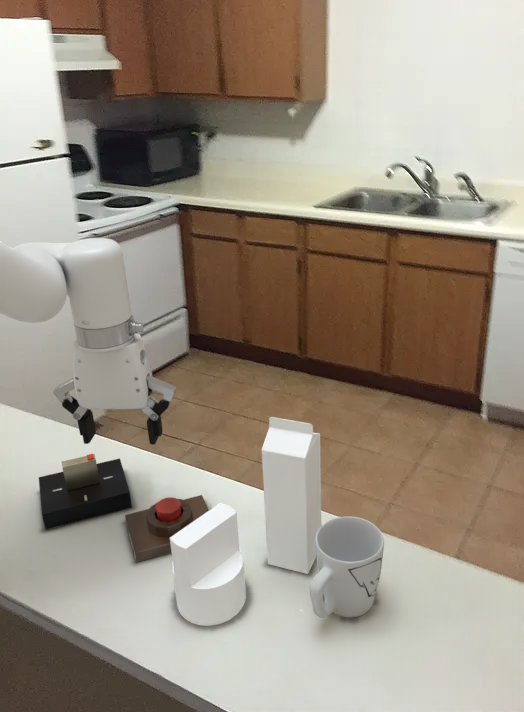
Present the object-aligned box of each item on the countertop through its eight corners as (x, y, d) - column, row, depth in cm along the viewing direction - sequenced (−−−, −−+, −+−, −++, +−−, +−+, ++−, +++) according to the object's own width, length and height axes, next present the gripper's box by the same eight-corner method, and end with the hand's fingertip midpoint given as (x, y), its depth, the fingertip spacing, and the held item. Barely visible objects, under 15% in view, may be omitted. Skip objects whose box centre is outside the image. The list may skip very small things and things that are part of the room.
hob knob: (67, 491, 104) (62, 465, 102) (66, 485, 106) (61, 460, 104) (99, 483, 106) (95, 457, 104) (98, 477, 107) (94, 452, 105)
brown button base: (136, 562, 94) (133, 543, 92) (126, 523, 101) (123, 505, 100) (218, 539, 97) (217, 520, 96) (202, 503, 105) (201, 485, 104)
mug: (342, 653, 79) (342, 589, 75) (287, 617, 84) (285, 555, 80) (394, 595, 86) (397, 534, 82) (342, 566, 92) (342, 507, 88)
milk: (283, 537, 97) (277, 404, 89) (322, 546, 95) (320, 411, 87) (267, 565, 92) (259, 427, 83) (308, 575, 90) (305, 435, 81)
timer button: (159, 525, 96) (158, 515, 95) (154, 510, 99) (153, 500, 98) (184, 518, 97) (183, 509, 96) (178, 504, 100) (177, 494, 99)
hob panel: (45, 530, 101) (41, 513, 99) (42, 492, 109) (38, 476, 108) (132, 507, 105) (129, 491, 103) (122, 473, 113) (119, 457, 112)
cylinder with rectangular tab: (212, 563, 93) (205, 492, 88) (260, 594, 88) (255, 520, 83) (162, 602, 87) (151, 528, 82) (210, 637, 81) (201, 561, 76)
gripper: (174, 320, 93) (186, 425, 100) (53, 320, 94) (74, 424, 101) (161, 342, 86) (175, 454, 93) (31, 343, 87) (54, 453, 94)
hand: (122, 439), depth 97 cm, fingers open, 9 cm apart
